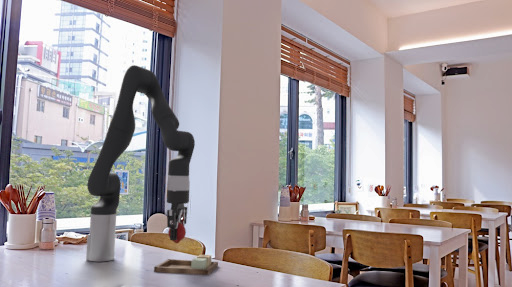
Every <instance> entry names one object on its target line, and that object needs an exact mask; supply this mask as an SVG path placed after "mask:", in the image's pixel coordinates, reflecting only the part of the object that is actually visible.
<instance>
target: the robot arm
mask: <svg viewBox="0 0 512 287" xmlns="http://www.w3.org/2000/svg"><path fill="white" fill-rule="evenodd" d="M137 93H139V94H144V95H145V96H146V97H147V98H148V100H149V101H150V104H151V115H152V118H153V120H154V121H155V123H156V125H157V126H158V128H159V129H160V133H161V138H162V142H163V144H164V146H165V147H166V148H167V149H168V150H169V151H173V152H177V155H176V157H174V158H171V159H170V160H169V162H168V170H167V171H168V173H167V174H168V176H167V183H166V184H167V185H166V202H167V203H168V204H170V209H167V210H166V216H167V218H166V220H167V222H166V224H167V227H166V228H169V229H170V237H169V240H170V241H175V240H177V228H178V223H179V222H180V223H181V224H182V225H183V226H184V227H185V225H186V224H187V219H188V218H187V216H188V206H185V205H186V204H189V202H190V163H191V160H192V157H193V154H194V150H195V146H196V144H195V137H194V135H193V134H192V133H191V132H189V131H186V130H185V131H183V130H178V129H179V126H180V122H179V119H178V117H177V116H176V114H175V113H174V111H173V109H172V108H171V106H170V105H169V103H168V101H167V99H166V98H165V94H164V93H163V90H162V87H161V85H160V83H159V80H158V77H157V76H156V74H155V73H154V72H153V71H152V70H150V69H146V68H144V67H142V66H138V65H134V64H133V65H130V66H129V67H128V68H127V69H126V71H125V73H124V75H123V78H122V82H121V87H120V91H119V95H118V99H117V102H116V106H115V108H114V112H113V115H112V118H111V121H110V123H109V126H108V129H107V131H106V135H105V138H104V141H103V144H102V147H101V149H100V152H99V154H98V157H97V159H96V162H95V163H94V166H93V168H92V170H91V172H90V174H89V176H88V180H87V184H86V185H87V191H88V193H89V194H90V195H91V196H94V197H99V200H98V201H97V202H96V203H95V204H94V205H92V206H91V207H90V224H89V233H88V234H87V235H86V238H87V239H86V256H85V259H86V260H85V261H89V262H98V263H99V262H110V261H113V260H115V254H116V253H115V251H116V250H115V246H116V227H117V224H116V223H117V210H118V208H119V203H120V194H121V179H120V177H119V175H118V174H117V173H116V172H113V171H112V169H113V166H114V164H115V163H116V161H117V160H119V158H120V156H122V155H123V154H124V152H125V151H126V150H127V148H128V147H129V146H130V144H131V142H132V138H133V136H134V133H135V131H136V120H135V119H136V118H135V114H134V102H135V97H136V94H137ZM169 229H168V230H169Z"/></svg>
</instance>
